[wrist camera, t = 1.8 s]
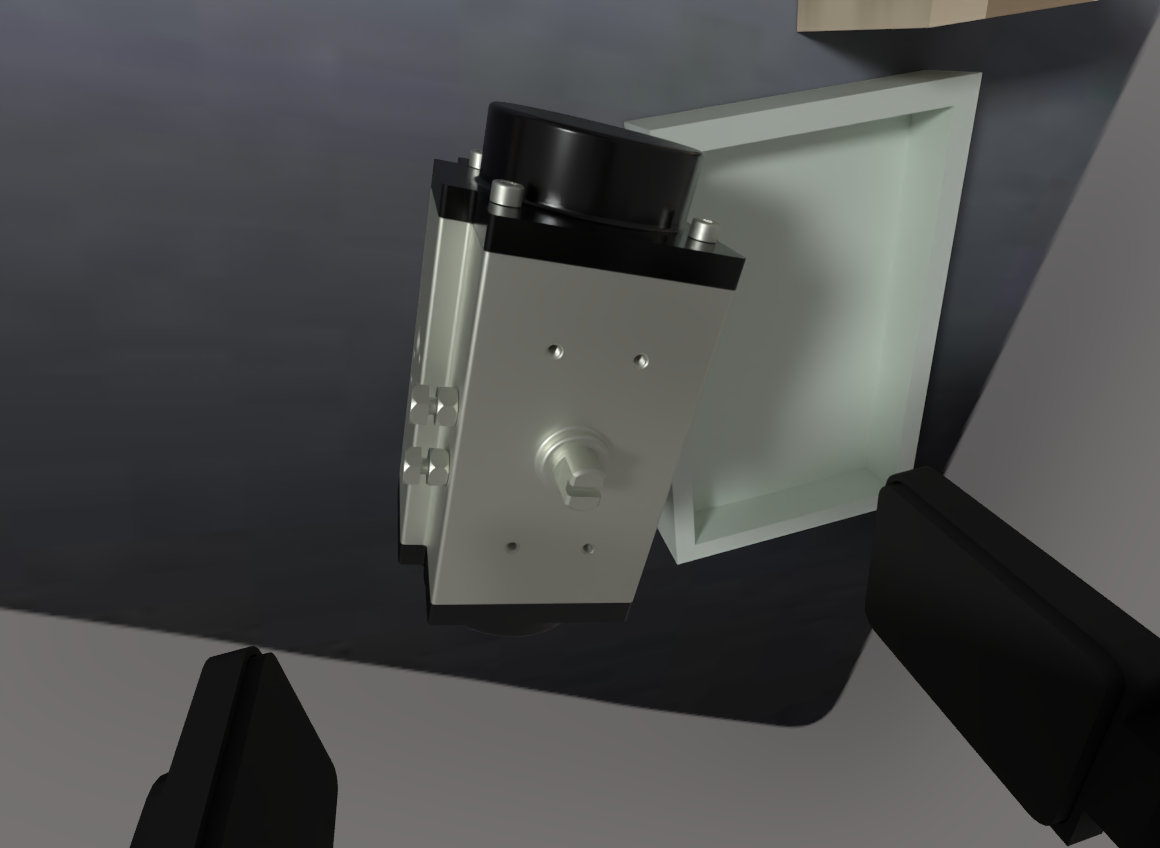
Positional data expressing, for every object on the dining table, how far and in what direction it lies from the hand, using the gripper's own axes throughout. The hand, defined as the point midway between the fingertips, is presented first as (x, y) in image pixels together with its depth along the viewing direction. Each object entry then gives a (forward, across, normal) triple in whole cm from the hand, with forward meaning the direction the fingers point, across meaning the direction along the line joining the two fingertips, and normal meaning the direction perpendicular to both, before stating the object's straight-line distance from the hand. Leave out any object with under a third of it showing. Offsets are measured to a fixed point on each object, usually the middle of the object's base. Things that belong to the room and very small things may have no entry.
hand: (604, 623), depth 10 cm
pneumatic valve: (+15, 0, -1) cm, 15 cm away
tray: (+15, -11, +3) cm, 18 cm away
